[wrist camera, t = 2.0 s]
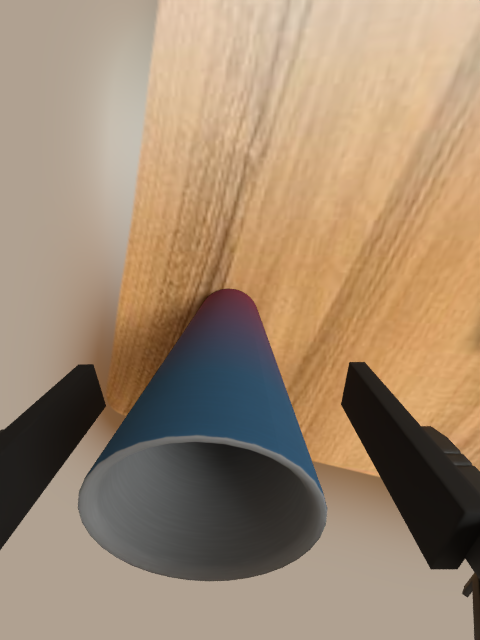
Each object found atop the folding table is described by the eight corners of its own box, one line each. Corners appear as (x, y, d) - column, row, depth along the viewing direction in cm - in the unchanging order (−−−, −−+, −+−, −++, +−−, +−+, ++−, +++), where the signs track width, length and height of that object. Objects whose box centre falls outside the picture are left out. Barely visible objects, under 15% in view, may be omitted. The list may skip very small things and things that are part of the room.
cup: (239, 362, 22) (236, 599, 8) (176, 325, 21) (44, 541, 7) (284, 306, 20) (382, 506, 6) (216, 261, 18) (143, 387, 5)
